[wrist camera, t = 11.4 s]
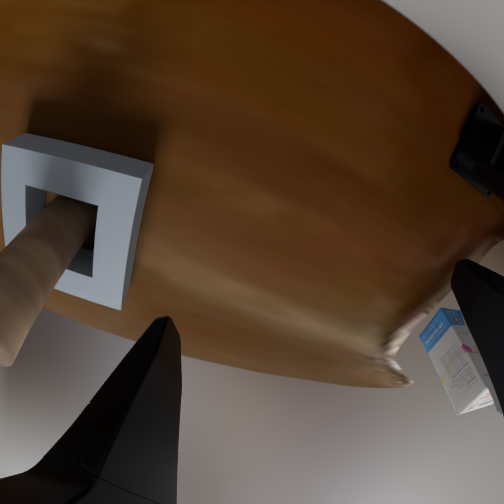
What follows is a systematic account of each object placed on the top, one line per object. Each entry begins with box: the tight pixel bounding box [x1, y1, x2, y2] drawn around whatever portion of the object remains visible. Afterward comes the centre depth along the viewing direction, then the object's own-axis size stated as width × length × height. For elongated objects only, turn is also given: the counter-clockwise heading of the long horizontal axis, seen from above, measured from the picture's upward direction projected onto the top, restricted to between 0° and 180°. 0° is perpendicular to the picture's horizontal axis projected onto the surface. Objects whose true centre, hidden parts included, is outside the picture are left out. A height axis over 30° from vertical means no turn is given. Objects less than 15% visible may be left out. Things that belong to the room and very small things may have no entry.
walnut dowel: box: [0, 195, 97, 367], centre depth 15 cm, size 4×4×13 cm
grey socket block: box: [1, 133, 154, 310], centre depth 19 cm, size 11×11×3 cm
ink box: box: [419, 308, 502, 415], centre depth 24 cm, size 8×5×15 cm, turn 74°
